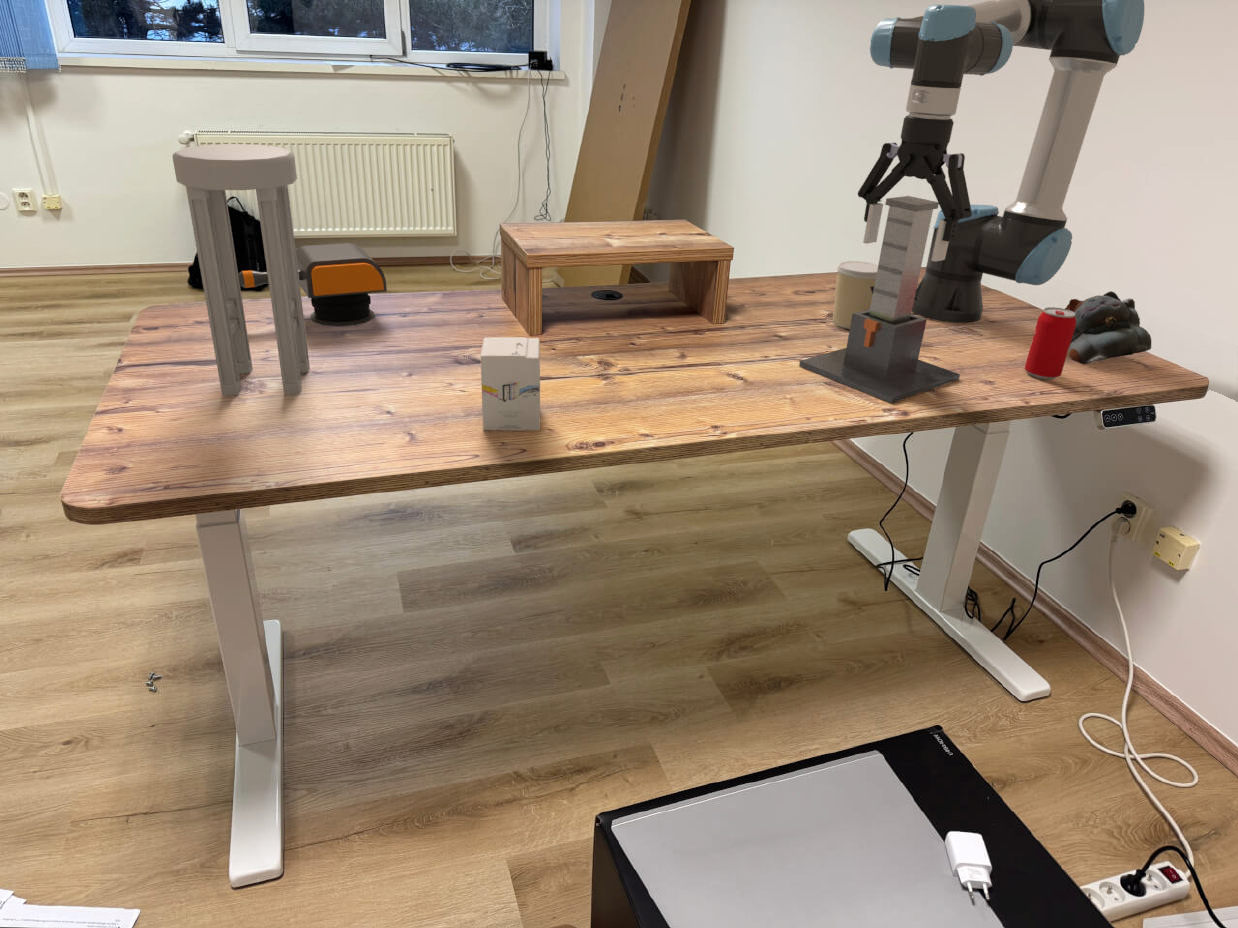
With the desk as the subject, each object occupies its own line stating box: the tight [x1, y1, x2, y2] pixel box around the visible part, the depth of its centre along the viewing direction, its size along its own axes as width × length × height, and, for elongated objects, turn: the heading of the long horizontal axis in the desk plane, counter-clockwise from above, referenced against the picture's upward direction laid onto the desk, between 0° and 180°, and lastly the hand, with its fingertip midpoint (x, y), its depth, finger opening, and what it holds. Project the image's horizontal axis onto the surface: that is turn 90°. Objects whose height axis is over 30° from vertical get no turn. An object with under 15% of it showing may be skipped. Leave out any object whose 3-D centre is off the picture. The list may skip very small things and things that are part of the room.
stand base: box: [798, 309, 961, 404], centre depth 154 cm, size 20×20×10 cm
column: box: [869, 195, 940, 325], centre depth 147 cm, size 6×6×21 cm
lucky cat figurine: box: [1064, 291, 1152, 366], centre depth 168 cm, size 15×12×14 cm
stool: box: [172, 143, 311, 397], centre depth 131 cm, size 16×16×35 cm
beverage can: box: [1024, 306, 1076, 380], centre depth 157 cm, size 6×6×12 cm
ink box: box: [480, 336, 541, 431], centre depth 128 cm, size 9×8×12 cm
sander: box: [238, 242, 388, 328], centre depth 164 cm, size 15×25×13 cm, turn 117°
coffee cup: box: [832, 260, 878, 330], centre depth 178 cm, size 9×9×12 cm
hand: (902, 251), depth 146 cm, fingers open, 13 cm apart
